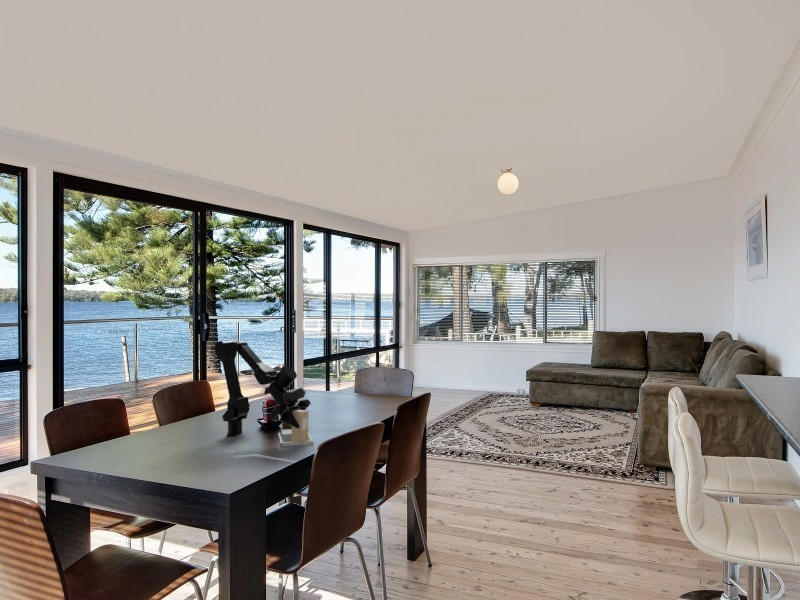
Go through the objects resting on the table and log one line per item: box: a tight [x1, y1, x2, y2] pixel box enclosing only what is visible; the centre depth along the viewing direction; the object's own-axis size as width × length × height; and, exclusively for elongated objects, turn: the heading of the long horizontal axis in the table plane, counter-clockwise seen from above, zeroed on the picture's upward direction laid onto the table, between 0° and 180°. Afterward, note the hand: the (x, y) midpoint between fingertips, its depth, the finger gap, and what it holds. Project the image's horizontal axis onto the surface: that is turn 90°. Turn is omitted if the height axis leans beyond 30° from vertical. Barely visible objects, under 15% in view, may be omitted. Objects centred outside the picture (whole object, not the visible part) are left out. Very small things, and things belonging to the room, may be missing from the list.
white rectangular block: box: [281, 429, 292, 441], centre depth 226 cm, size 8×4×2 cm, turn 15°
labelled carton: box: [292, 409, 309, 442], centre depth 220 cm, size 5×4×12 cm
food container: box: [281, 421, 292, 431], centre depth 243 cm, size 12×6×10 cm, turn 168°
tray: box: [277, 431, 314, 448], centre depth 224 cm, size 18×12×2 cm, turn 15°
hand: (302, 426), depth 219 cm, fingers closed on labelled carton, 4 cm apart
